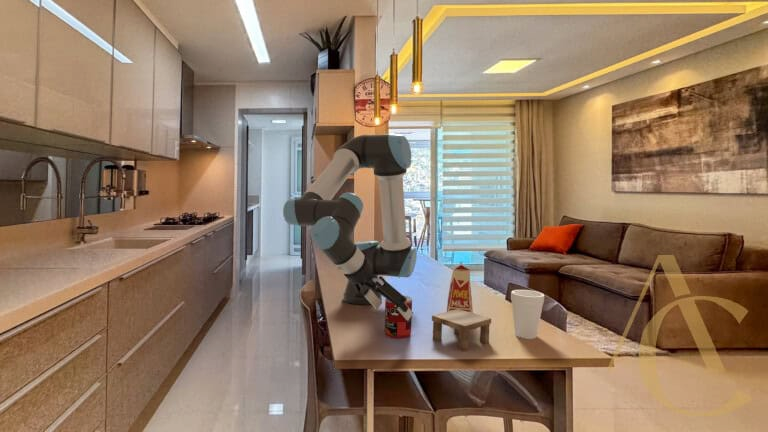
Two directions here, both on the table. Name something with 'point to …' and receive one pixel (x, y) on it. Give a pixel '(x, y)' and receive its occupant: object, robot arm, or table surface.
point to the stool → (461, 325)
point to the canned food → (397, 320)
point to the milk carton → (460, 290)
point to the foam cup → (526, 312)
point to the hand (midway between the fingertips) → (393, 310)
